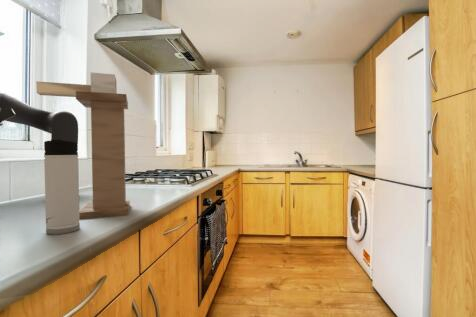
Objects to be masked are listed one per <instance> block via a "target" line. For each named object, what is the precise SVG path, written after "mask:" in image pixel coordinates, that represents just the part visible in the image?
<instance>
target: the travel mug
mask: <svg viewBox="0 0 476 317" xmlns="http://www.w3.org/2000/svg"><path fill="white" fill-rule="evenodd" d="M43 144H44V145H43V147H44V150H43V151H44V157H43V158H44V161H43V163H44V199H45V200H44V202H45V203H44V204H45V225H46V226H45V232H46V234H49V235H52V236H53V235H55V236H56V235H64V234H69V233H74V232H76V231H78V230H79V229H80V228H81V226H80V220H81V219H79V212H80V187H79V186H80V185H79V184H80V182H79V181H80V180H79V179H80V178H79V177H80V176H79V174H80V173H79V152H78V151H79V150H78V149H79V148H78V147H79V145H78V144H79V142H78V143H76V142H71V141H62V140H61V139H50V140H46V141H44V142H43Z"/></svg>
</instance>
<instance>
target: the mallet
mask: <svg viewBox="0 0 476 317" xmlns="http://www.w3.org/2000/svg"><path fill="white" fill-rule="evenodd" d="M35 83H36V94H38V95H39V96H49V97H64V98H65V97H70V98H76V91H82V92H99V93H115V94H118V93H117V92H118V90H117V89H118V88H117V83H118V82H117V77H116V74H114V73H103V72H102V73H100V72H92V71H91V72H90V84H79V83H65V82H53V81H52V82H50V81H39V80H38V81H36V82H35Z"/></svg>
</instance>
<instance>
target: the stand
mask: <svg viewBox="0 0 476 317" xmlns="http://www.w3.org/2000/svg"><path fill="white" fill-rule="evenodd" d="M75 100H76V101H77V102H79V103H80V104H81V105H82V106H83V107H85V108H89V109H90V121H91V122H90V123H91V125H90V126H91V127H90V128H91V134H90V135H91V172H92V173H91V174H92V176H91V178H92V179H91V180H92V202H90V203H86V204H85V205H84V206H83V207H82V208H81V210H79V219H80V220H82V219H83V220H84V219H94V218H97V219H98V218H106V217H107V218H108V217H120V216H129V212H130V206H131V205H130V202H131V201H130V200H126V198H127V196H126V190H127V189H126V144H125V143H126V136H125V133H126V132H125V129H126V128H125V110H129V102H128V97H127V94H126V93H117V94H115V93H99V92H82V91H76V97H75Z"/></svg>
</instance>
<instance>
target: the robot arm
mask: <svg viewBox="0 0 476 317" xmlns="http://www.w3.org/2000/svg"><path fill="white" fill-rule="evenodd" d="M5 121H6V122H9V123H13V124H18V125H24V126H29V127H31V128H35V129H37V130H40V131H43V132H46V133H48V134H50V136H51V137H50V138H51V139H61V140H62V141H71V142H76V143H78V144H79V122H78V119H77V117H76V116H75V115H74V114H73V113H72V112H69V111H66V110H63V111H56V112H55V111H49V110H45V109H41V108H37V107H35V106H32V105H29V104H28V103H26V102H24V101H22V100H20V99H19V98H17V97H15V96H13V95H11V94H8V93H6V92H3V91H0V126H1V127H2V126H4V123H3V122H5ZM51 139H50V140H51Z"/></svg>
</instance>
